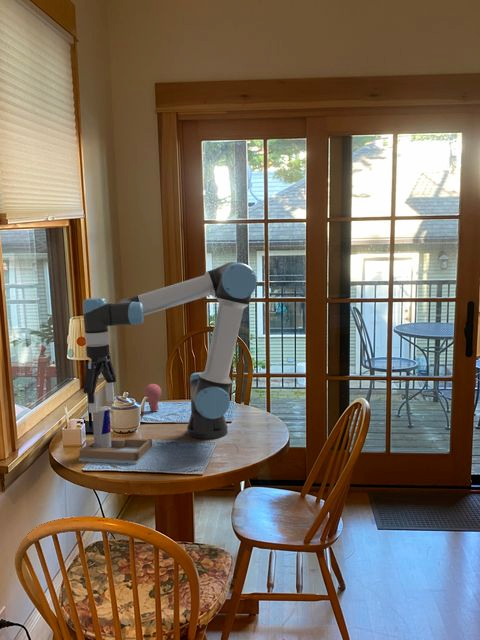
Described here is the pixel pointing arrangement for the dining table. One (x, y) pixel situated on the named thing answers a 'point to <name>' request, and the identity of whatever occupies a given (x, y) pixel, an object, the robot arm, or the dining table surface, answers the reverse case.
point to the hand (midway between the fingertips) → (102, 406)
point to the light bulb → (153, 396)
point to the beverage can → (102, 428)
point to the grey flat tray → (117, 451)
